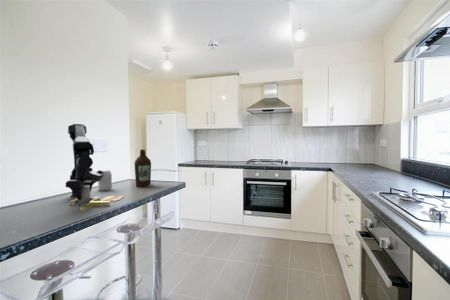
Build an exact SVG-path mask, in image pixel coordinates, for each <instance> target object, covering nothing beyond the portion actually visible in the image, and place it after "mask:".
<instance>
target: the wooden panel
mask: <svg viewBox="0 0 450 300" xmlns="http://www.w3.org/2000/svg"><path fill="white" fill-rule="evenodd" d="M124 197H125V195H111V196H109V195H108V196H106V197H104V198H101V199H100V201H110V202H119V201H120V200H121V199H123V198H124Z"/></svg>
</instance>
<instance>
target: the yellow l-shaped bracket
mask: <svg viewBox="0 0 450 300" xmlns="http://www.w3.org/2000/svg"><path fill="white" fill-rule="evenodd" d="M110 206H111V201H92V202H89V203H87V204H86V203H84V204H81V206H80V209H79V210H80V212H86V211H87V210H89V209H91V208H92V207H110Z"/></svg>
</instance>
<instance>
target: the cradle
mask: <svg viewBox="0 0 450 300" xmlns="http://www.w3.org/2000/svg"><path fill="white" fill-rule="evenodd" d="M100 200H101V197H100V196H90V201H89V202H92V201H100ZM76 205H78V199H77V197H76V198H74V199H72V200H70V201H69V206H76Z"/></svg>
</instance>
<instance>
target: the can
mask: <svg viewBox="0 0 450 300" xmlns="http://www.w3.org/2000/svg"><path fill="white" fill-rule="evenodd" d="M102 171H103V177H102V179H101V181H98V182H97V183H98V186H97V187H98V190H99V191H101V192H102V191H103V192H104V191H110V190H111V189H112V188H113V186H112V185H113V183H112V182H113V181H112V179H113V178H112V176H113V175H112V172H111V170H109V169H108V170H102Z"/></svg>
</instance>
